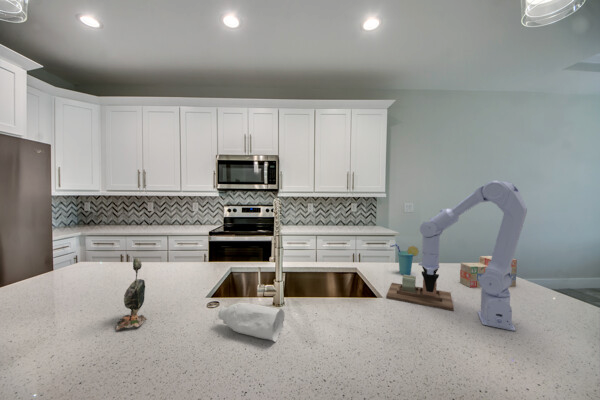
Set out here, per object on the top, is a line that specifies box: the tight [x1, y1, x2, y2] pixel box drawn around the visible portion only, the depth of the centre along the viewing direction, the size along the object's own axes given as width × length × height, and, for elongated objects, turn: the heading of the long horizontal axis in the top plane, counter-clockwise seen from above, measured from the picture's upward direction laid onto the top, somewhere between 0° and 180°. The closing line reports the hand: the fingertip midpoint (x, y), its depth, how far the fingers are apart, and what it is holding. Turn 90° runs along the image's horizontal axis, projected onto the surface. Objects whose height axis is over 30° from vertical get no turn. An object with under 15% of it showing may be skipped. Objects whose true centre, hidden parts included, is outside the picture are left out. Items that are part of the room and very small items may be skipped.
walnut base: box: [385, 275, 455, 312], centre depth 98 cm, size 16×22×7 cm
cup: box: [389, 243, 420, 276], centre depth 125 cm, size 14×8×15 cm, turn 94°
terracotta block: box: [422, 277, 438, 297], centre depth 96 cm, size 4×4×6 cm
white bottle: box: [217, 302, 285, 343], centre depth 71 cm, size 8×19×8 cm, turn 69°
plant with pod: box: [115, 257, 147, 331], centre depth 75 cm, size 8×11×20 cm
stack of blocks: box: [459, 255, 518, 289], centre depth 111 cm, size 21×6×12 cm, turn 95°
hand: (429, 288), depth 96 cm, fingers open, 7 cm apart
